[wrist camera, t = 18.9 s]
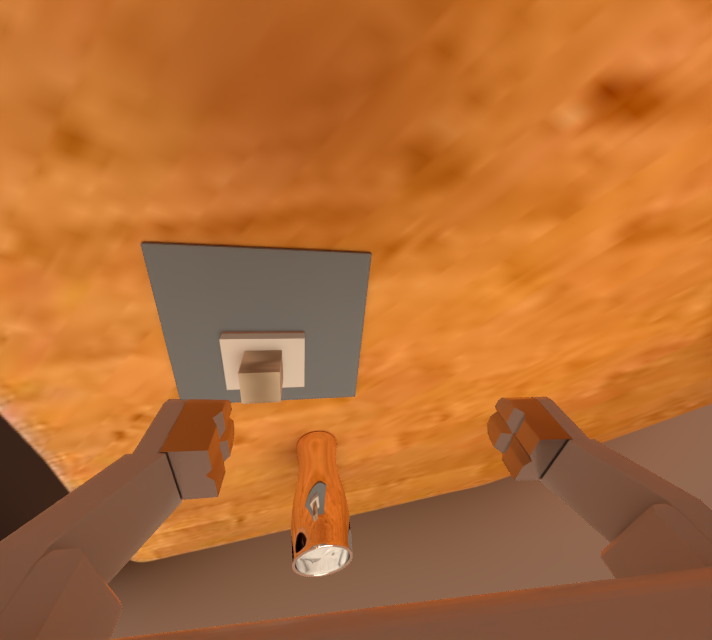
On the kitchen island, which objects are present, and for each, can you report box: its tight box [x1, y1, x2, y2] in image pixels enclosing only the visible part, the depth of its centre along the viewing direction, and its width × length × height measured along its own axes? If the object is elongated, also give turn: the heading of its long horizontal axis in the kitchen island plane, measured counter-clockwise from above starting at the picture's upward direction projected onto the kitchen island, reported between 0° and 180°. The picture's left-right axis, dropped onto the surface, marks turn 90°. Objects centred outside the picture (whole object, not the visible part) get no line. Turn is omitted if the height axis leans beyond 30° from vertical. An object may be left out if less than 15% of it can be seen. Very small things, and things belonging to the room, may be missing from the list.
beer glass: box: [291, 431, 353, 577], centre depth 38 cm, size 7×7×15 cm
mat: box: [141, 242, 371, 403], centre depth 34 cm, size 22×20×1 cm
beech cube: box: [238, 350, 283, 404], centre depth 31 cm, size 4×4×4 cm
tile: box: [219, 331, 305, 390], centre depth 34 cm, size 2×7×9 cm
